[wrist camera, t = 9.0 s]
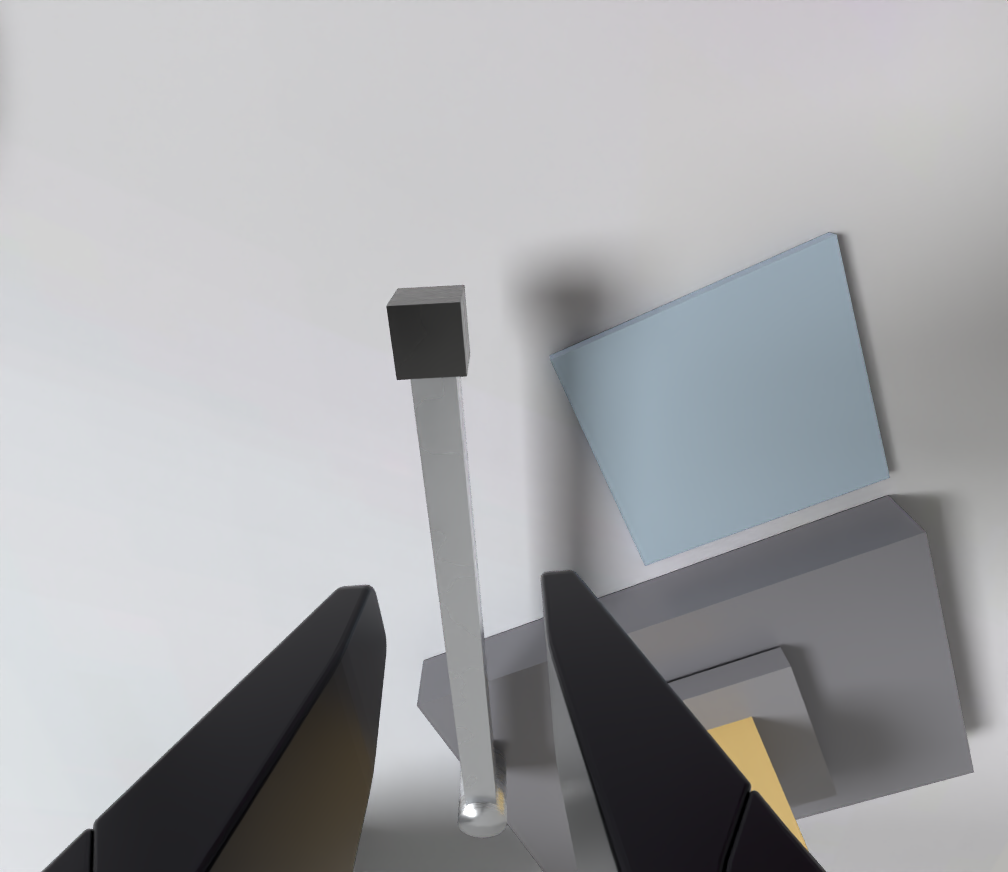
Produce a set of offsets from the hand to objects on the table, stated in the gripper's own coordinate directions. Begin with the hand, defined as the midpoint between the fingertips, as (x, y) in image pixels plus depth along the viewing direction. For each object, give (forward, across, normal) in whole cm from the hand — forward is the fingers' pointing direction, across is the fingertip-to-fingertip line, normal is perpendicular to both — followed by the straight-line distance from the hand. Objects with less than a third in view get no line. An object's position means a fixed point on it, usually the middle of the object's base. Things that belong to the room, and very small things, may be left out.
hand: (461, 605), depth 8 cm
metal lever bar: (+9, +1, +7) cm, 11 cm away
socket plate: (+11, -6, +15) cm, 20 cm away
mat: (+11, -7, +3) cm, 13 cm away
